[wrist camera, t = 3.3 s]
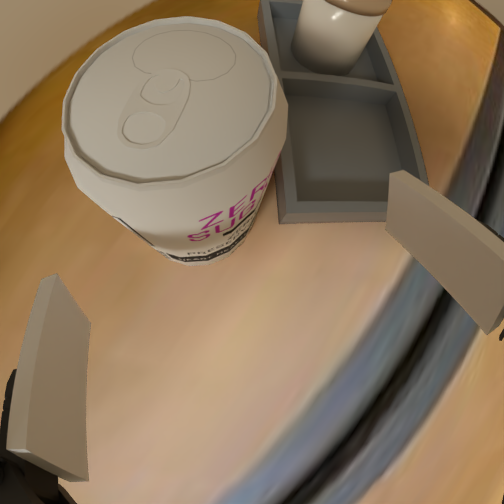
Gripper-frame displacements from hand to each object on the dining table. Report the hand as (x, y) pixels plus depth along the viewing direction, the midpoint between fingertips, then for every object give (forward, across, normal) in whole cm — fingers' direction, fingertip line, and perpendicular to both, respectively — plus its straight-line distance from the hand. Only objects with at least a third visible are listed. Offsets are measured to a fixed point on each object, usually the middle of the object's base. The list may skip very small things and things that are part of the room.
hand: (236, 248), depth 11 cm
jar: (+20, +15, +5) cm, 26 cm away
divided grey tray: (+17, +13, 0) cm, 21 cm away
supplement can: (+12, -1, -5) cm, 13 cm away
